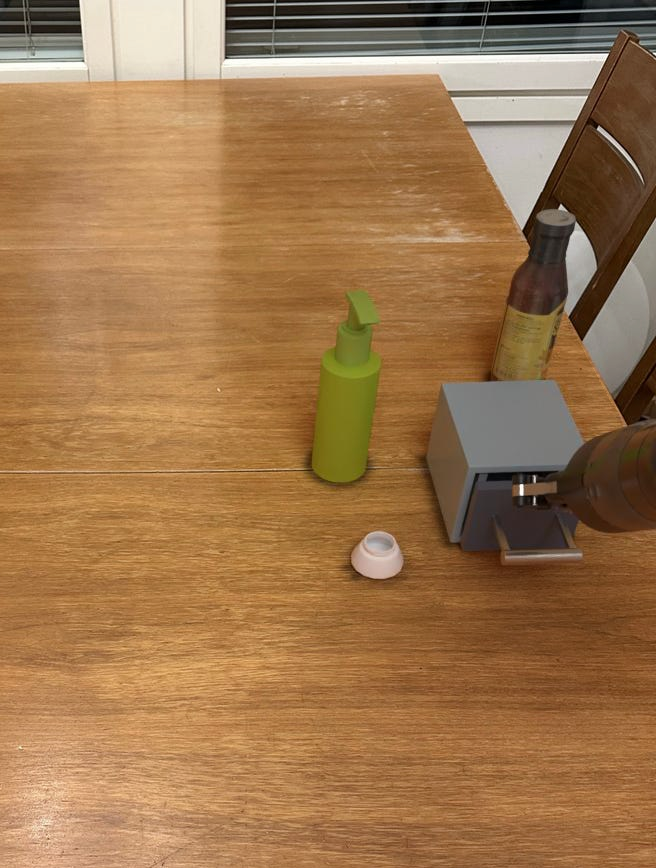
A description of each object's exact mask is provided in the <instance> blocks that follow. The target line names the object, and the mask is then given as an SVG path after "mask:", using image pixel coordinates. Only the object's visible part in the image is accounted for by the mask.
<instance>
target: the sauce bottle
mask: <svg viewBox="0 0 656 868" xmlns="http://www.w3.org/2000/svg"><path fill="white" fill-rule="evenodd" d="M576 222H577V218H576V216H575V215H574V214H573V213H572V212H569V211H566V210H564V209H563V210H562V209H558V208H557V209H556V208H550V209H544V210H541V211H538V212H537V213H536V215H535V219H534V223H533V235H532V239H531V243H530V248H529V249H528V252H527V257H526V258H525V260H524V261H523V262H522V263H521V264H520V265H519V266H518V267H517V268H516V270H515V271H514V273H513V275H512V278H511V281H510V286H509V292H508V294H507V295H508V296H507V297H506V299H505V304H504V309H503V313H502V318H501V322H500V327H499V331H498V335H497V340H496V344H495V349H494V354H493V358H492V363H491V367H490V372H491V373H490V382H491V381H524V380H545V378H546V377H547V372H548V369H549V365H550V362H551V358H552V355H553V351H554V347H555V344H556V341H557V340H556V339H557V336H558V333H559V329H560V325H561V322H562V318H563V314H564V310H565V306H566V303H567V299H568V296H569V281H568V280H569V279H568V271H567V270H568V269H567V252H568V248H569V244H570V239H571V236H572V235H573V233H574V232H575V227H576V224H577V223H576Z"/></svg>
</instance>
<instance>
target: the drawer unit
mask: <svg viewBox="0 0 656 868" xmlns="http://www.w3.org/2000/svg"><path fill="white" fill-rule="evenodd" d="M585 443H586V442H585V440H584V438H583V437H582V435H581V432H580V430H579V428H578V426H577V424H576V421H575V420H574V417H573V415H572V413H571V410H570V409H569V406H568V404H567V401H566V400H565V398H564V396H563V393H562V391H561V389H560V387H559V385H558V382H557V380H556V379H543V380H524V381H491V380H490V381H462V382H441V383H440V387H439V392H438V396H437V402H436V407H435V411H434V418H433V422H432V427H431V431H430V436H429V441H428V446H427V451H426V456H425V459H426V462H427V466H428V469H429V473H430V476H431V480H432V483H433V487H434V490H435V494H436V497H437V501H438V505H439V508H440V512H441V515H442V518H443V522H444V525H445V530H446V532H447V536H448V539H449V543H460V542H461V538H462V534H463V530H464V526H463V520H464V516H465V513H466V509H467V505H468V501H469V497H470V493H471V489H472V485H473V481H474V477H475V473H498V472H532V471H560V470H563V469H565V468H566V466H567V465H568V463H569V461H570V459H571V458H572V456H573V455H574V454H575V452H576V451H577V450H578V449H579V448H580V447H581V446H582V445H583V444H585Z"/></svg>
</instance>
